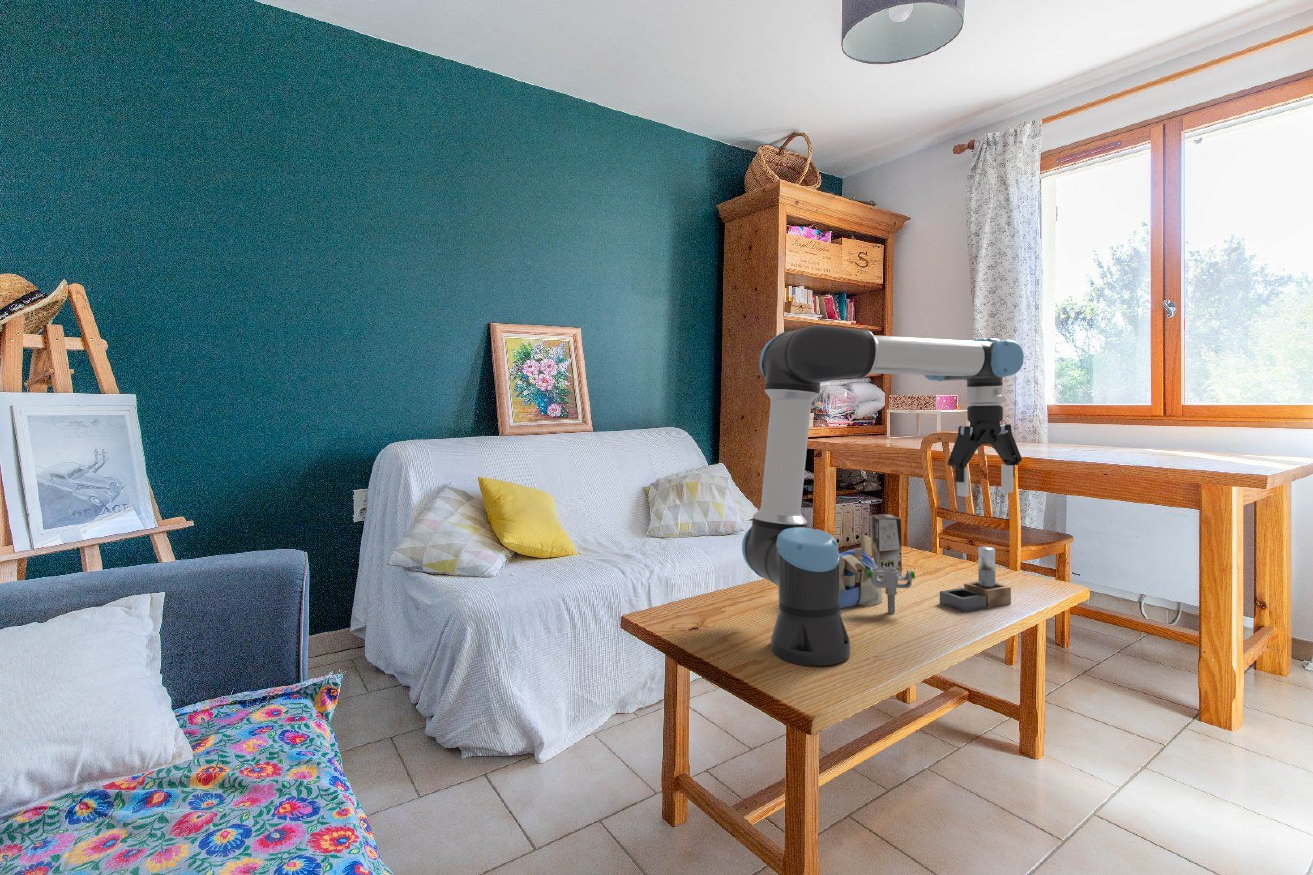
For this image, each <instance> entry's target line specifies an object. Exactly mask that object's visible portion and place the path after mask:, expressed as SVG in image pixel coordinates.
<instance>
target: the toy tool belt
mask: <svg viewBox="0 0 1313 875" xmlns="http://www.w3.org/2000/svg"><path fill="white" fill-rule="evenodd" d="M859 536H860V537H859V538H860V547H857V548H853V549H849V550H846V551H843V552H839V556H840V561H839V592H840V610H841V609H845V608H849V607H854V606H856V605H858V606H865V607H866V606H869V607H872V606H876V605H878V604H881V603H882V602H883V590H882V589H883V588H877V587H875V586H874V585H873V583H872V581H871V578H868V577H867V571H870V569H876V568H878V567H877V565H876V564H875V562H874V559H873V557H872V548H871V538H870V536H868V535H866V534H864V533H862V534H860V535H859ZM877 579H880V575H879V576H878V577H877ZM842 614H843V613H842V611H840V615H842Z"/></svg>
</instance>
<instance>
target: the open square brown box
mask: <svg viewBox="0 0 1313 875" xmlns="http://www.w3.org/2000/svg"><path fill="white" fill-rule="evenodd" d="M995 587H996V588H992V589H985V588H982V587H979V580H977V581H971V582H964V583H963V588H965V589H968V590H971V591H974V592H977V593H980V594H983V595H986V609H990V608H995V607H1000V606H1007V605H1011V604H1012V590H1011V588H1012V587H1011V586H1008V585H1006V584H1003V583H1002V584H1001V583H999V582H998V583H997V582H995Z"/></svg>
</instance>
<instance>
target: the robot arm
mask: <svg viewBox="0 0 1313 875" xmlns="http://www.w3.org/2000/svg"><path fill="white" fill-rule="evenodd" d="M1023 350H1024V349H1023V348H1022V346H1021V345H1020V344H1019V343H1018V342H1017V341H1015V340H1012V339H1005V340H1004V339H999V338H994V337H993V338H991V337H990V338H978V339H975V338H974V339H971V340H966V339H965V340H964V339H947V338H943V339H942V338H930V337H929V338H928V337H912V336H909V337H908V336H891V335H876V334H875V335H874V334H873V333H872V332H871V330H869V329H859V328H851V327H842V326H841V327H840V326H833V325H832V326H831V325H819V324H817V325H810V326H806V327H802V328H799V329H795V330H788V331H784V332H781V333H779V334H777V335H776V336H774V337H773V338H771V339H769V340H768V342H767V343H766V344H765V345H764V347H763V348H762V350H761V353H760V356H759V370H760V373H761V375H762V376H763V378H764V380H765V384H764V393H765V394H766V395H767V397H768V398H769V399H770V406H769V408H770V410H769V417H768V418H769V419H768V430H767V442H766V449H765V459H764V469H763V470H764V472H763V479H762V480H763V482H762V491H761V492H762V493H761V500H760V501H761V503H760V508H759V510H758V511H757V512H755V513H754V514H753V515H752V521H751V526H750V528H749V529H748V530H747V531H746V532H745V534H744V536H743V539H742V543H741V553H742V556H743V560H744V561H745V563H746V565H747V566H748V568H750V570H751V571H753V572H754V573H755V574H756V575H757V576H759V577H760V578H762V579H765V580H767V581H769V582H771V583H773V584H774V585H776V586H777V587H778V609H779V610H778V614H777V616H776V621H775V623H774V624H775V625H774V627H773V631H772V634H771V639H770V651H771V652H772V654H774V656H775V657H777V658H778V659H780V660H782V661H785V662H787V663H790V664H795V665H801V666H810V667H811V666H812V667H821V666H822V667H825V666H832V665H837V664H840V663H842V662H843V663H844V661H846V660H848V659H849V657H850V656H851V642H850V641H851V640H850V638H849V635H848V633H847V630H846V627H845V625H844V622H843V619H842V614H840V612H841V609H840V592H839V561H840V556H839V553H840V552H839V545H838V541H837V539H836V538H835V536H833V535H832V534H831V533H829V532H826V531H824V530H822V529H819V528H817V529H814V528H812V527H808V521H807V520H806V518H805V517H804V516H803V515H802V502H803V501H802V500H803V492H804V482H805V481H804V480H805V470H806V462H807V461H806V460H807V450H808V440H809V431H810V429H809V428H810V419H811V409H812V404H813V402H814V401H815V400H816V399H818V398H819V396H820V392H821V383H826V382H830V381H835V380H836V381H837V380H843V379H855V378H856V379H857V378H858V379H863V378H866V377H868V376H869V375H870V374H877V375H878V374H880V375H883V374H886V375H913V376H914V375H916V376H924V378H926V379H927V380H929V381H936V382H943V381H947V382H948V381H966V391H967V392H966V403H967V404H968V405H969V406H968V407H967V408H966V409H967V411H966V412H967V416H966V417H967V421H968V422H969V425H968V426H967V425H959V426H958V430H957V431H958V432H957V437H956V439H955V442H954V445H953V448H952V450H951V453H950V456H949V457H948V460H947V465H948V466H949V467H951V468H953V469H954V470H955V471H954V473H955V474H954V478H955V479H954V480H955V483H956V492H957V493H956V495H957V497H958V496H959V497H965V498H969V497H970V496H969V494H970V491H969V489H970V487H969V486H970V484H969V482H970V481H969V474H970V473H969V468H966V467H967V466H968V463H969V462H970V461H971V459H972V458H973V456H974V455H975V453H976V451H977V449H978V448H979V447H981V446H982V445H988V444H989V445H990V446H992V448H993V449H994V450H995V452H996V453H997V455H998V456H999V457H1000V459H1001V461H1002V462H1003V463H1004V464H1001V465H1000V466H1001V467H1000V468H1001V470H1000V472H1001V473H1000V475H1001V476H1000V477H1001V480H1000V481H1001V483H1000V484H1001V486H1000V487H1001V489H1000V490H1001V492H1004V493H1011V494H1012V493H1014V478H1015V466H1019V464H1020V463H1021V462H1022V461H1023V458H1022V456H1021V453H1020V451H1019V447H1018V446H1017V443H1016V440H1015V438H1014V435H1013V431H1012V425H1011V424H1009V423H1006V424H1005V423H1001V422H1002V421H1003V419H1004V407H1003V405H1000V404H1002V403H1003V398H1004V396H1003V383H1004V382H1003V381H1004V380H1003V379H1004V378H1005V377H1010V376H1014V375H1015V374H1017V373H1019V372H1020V370H1021V369H1022V367H1023V365H1024V360H1025V358H1024V357H1025V354H1024V351H1023Z"/></svg>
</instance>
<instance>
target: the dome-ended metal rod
mask: <svg viewBox="0 0 1313 875" xmlns="http://www.w3.org/2000/svg"><path fill="white" fill-rule="evenodd" d="M977 556H978V557H977V558H978V559H977V563H978V564H977V565H978V566H977V567H978V568H977V569H978V571H977V572H978V577H977V578H978V580H977V581H979V587H982V588H985V589H992V588H996V587H995V583H996V548H995V547H991V546H978V547H977Z"/></svg>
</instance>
